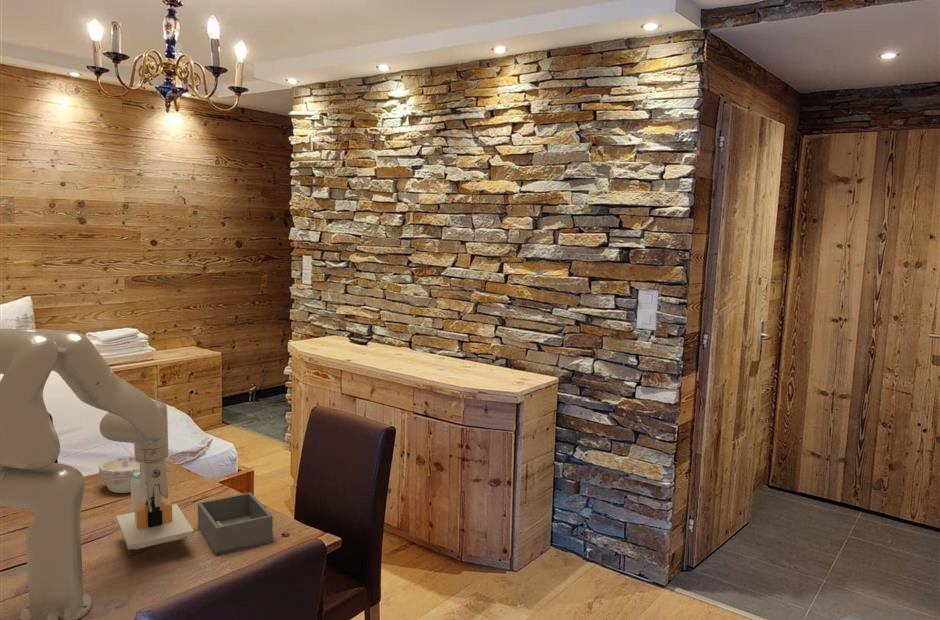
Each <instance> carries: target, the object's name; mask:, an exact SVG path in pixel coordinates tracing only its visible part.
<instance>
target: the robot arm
mask: <svg viewBox="0 0 940 620" xmlns="http://www.w3.org/2000/svg"><path fill="white" fill-rule="evenodd" d="M51 372H55V373H56V374H58V375H59V377H60V378H61V379H62V380H63V382H65V384H66V385H67V386H68V387H69V388H70V390H71V391H72V392H73V393H74V394H75V396H76V397H77V398H78V400H80V401H81V402H83V403H85V404H86V405H89V406H91V407H93V408H95V409H97V410H101V411H105V412H107V413H106V414H104V415H103V417H102V419H101V420H100V422H99V432H100V434H101V436H102V437H103V438H105V439H106V440H109V441H112V442H118V443H127V444H128V443H130V444H133V446H134V448H133V450H134V451H133V452H134V456H135V461H137V462H139V463H140V485H141V491H142V493H143V495H144V497H145V505H148V504H149V511H148V527H149V528H151V527H155V526H160V525H162V524H163V523H162V503H161V502H162V498H163V499H165V500H167V499H168V498H169V484H168V482H169V481H168V473H167V470H168V469H167V465H166V464H167V463H166V459H168V458H169V433H168V432H169V430H168V429H169V428H168V427H169V426H168V424H169V422H168V406H167V404H166V403H165V402H163V401H161V400H154V399H152V397H150V396H149V395H148V394H146V393H145V392H144V391H142V390H140V389H139V388H137V387H135V386H134V385H132V384H131V383H129V382H127V380H125V379H123V378H120V376H118V375H116V373H115V372H114V370H112V368H111V367H110V366H109V364H108V362H107V361H106V359H105V358H104V357H103V356H102V355H101V353H100V351H98V349H97V347H96V346H95V345H94V343H93V342H92V341H91V340H90V339H89V338H88V337H87V336H86V335H85V334H83V333H81V332H77V331H72V330H61V329H48V328H33V329H32V328H29V329H28V328H24V329H23V328H0V375H3V376H2V377H1V379H0V505H2V506H4V507H10V508H16V509H22V510H27V511H33V512H34V517H33V519H32V520H31V522H30V524H29V525H28V527H27V530H26V532H25V533H26V534H25V547H26V548H25V549H26V569H27V586H28V588H27V589H28V592H27V593H28V604H27V606H25V607H24V609H23V610H22V611H21V612H20V615H19V616H20V620H79V619H82V617H84V616H85V615H86V614H87V613H88V612H89V611H91V608H92V606H93V605H92V604H93V603H92V602H93V601H92V596H90V595H89V594H88V593H85V592H84V584H83V561H82V560H83V556H82V555H83V554H82V531H81V530H82V529H81V526H82V525H81V517H82V516H81V515H82V507H83V506H82V505H83V499H84V495H85V489H86V483H85V477H84V476H83V473H82V472H81V471H80V470H79V469H77V468H76V467H75V466H74V467H73V466H71V465H69V464H65V463H59V462H56V460H57V459H58V458H59V456H60V451H61V444H60V443H61V442H60V439H59V437H58V433H57V431H56V429H55V426H54V424H53V421H52V419H51V417H50V414H49V412H48V408H47V407H46V403H45V400H44V388H45V385H46V384H47V380H48V379H49V376H50V375H51ZM153 503H154V504H153Z"/></svg>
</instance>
